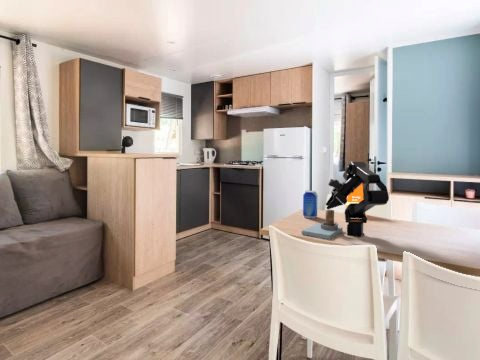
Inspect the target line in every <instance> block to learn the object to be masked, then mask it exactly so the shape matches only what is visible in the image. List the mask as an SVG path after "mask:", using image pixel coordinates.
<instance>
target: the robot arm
mask: <svg viewBox="0 0 480 360" xmlns="http://www.w3.org/2000/svg"><path fill="white" fill-rule="evenodd" d="M342 177H343V179H344V180H345V181H344V182H340V181H339V180H338V179H332V178H330V180H329V182H328V186H329V187H332V190H331V195H330V197H329V199H328V200H327V201H326V203H325V206H327V207H326V210H332V209H334V208H336V207H340V206H343V205H345V206H346V203H347V198H348V197H347V196H348V195H350V194H351V193H353V192H354V190H355V189H356V188H357V187H359V186H360V185H361V184H362V185H363V184H364V188H363V200H362V201H361V202H359V203H350V204H349V205H347V206H348V207H347V208H346V207H345V210H344V219H345V223H347V225H346V226H347V227H346V235H347V236H352V237H357V238H361V237H362V236H364V235H365V233H364V224H367V222H368V218H367V215H366V212H368V211H369V210H371V209H372V208H374V207H375V206H384V205H386V204H387V203H388V201H389V199H390V197H389V196H390V195H389V192H388V188H387V186H386V185H385V184H384V182H383V181H382V180H381V176H380V175H379V174H377V173H375V172H373V171H372V170H370V169H369V168H367V164H366V163H365V162H364V161H349V163H348V165H347V167H346V168H345V170H344V172H343V175H342ZM370 184H371V185H372V184H373V185H376V186H377V187H378V188H379V190H378V189H377V190H375V189H374V190H368V186H369V185H370Z"/></svg>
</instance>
